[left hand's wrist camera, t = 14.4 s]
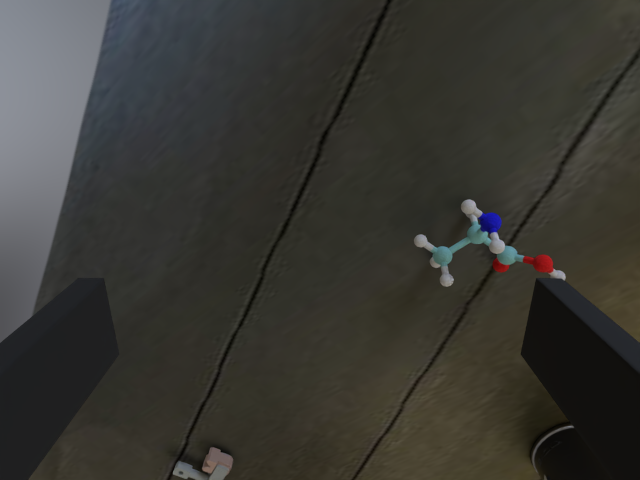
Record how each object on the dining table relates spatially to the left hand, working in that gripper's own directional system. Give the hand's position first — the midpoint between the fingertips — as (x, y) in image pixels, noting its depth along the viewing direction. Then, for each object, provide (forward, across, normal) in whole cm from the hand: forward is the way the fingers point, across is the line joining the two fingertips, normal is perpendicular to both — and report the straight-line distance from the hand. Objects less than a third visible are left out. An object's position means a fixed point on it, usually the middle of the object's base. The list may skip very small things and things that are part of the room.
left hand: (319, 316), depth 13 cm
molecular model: (+29, +15, -8) cm, 34 cm away
